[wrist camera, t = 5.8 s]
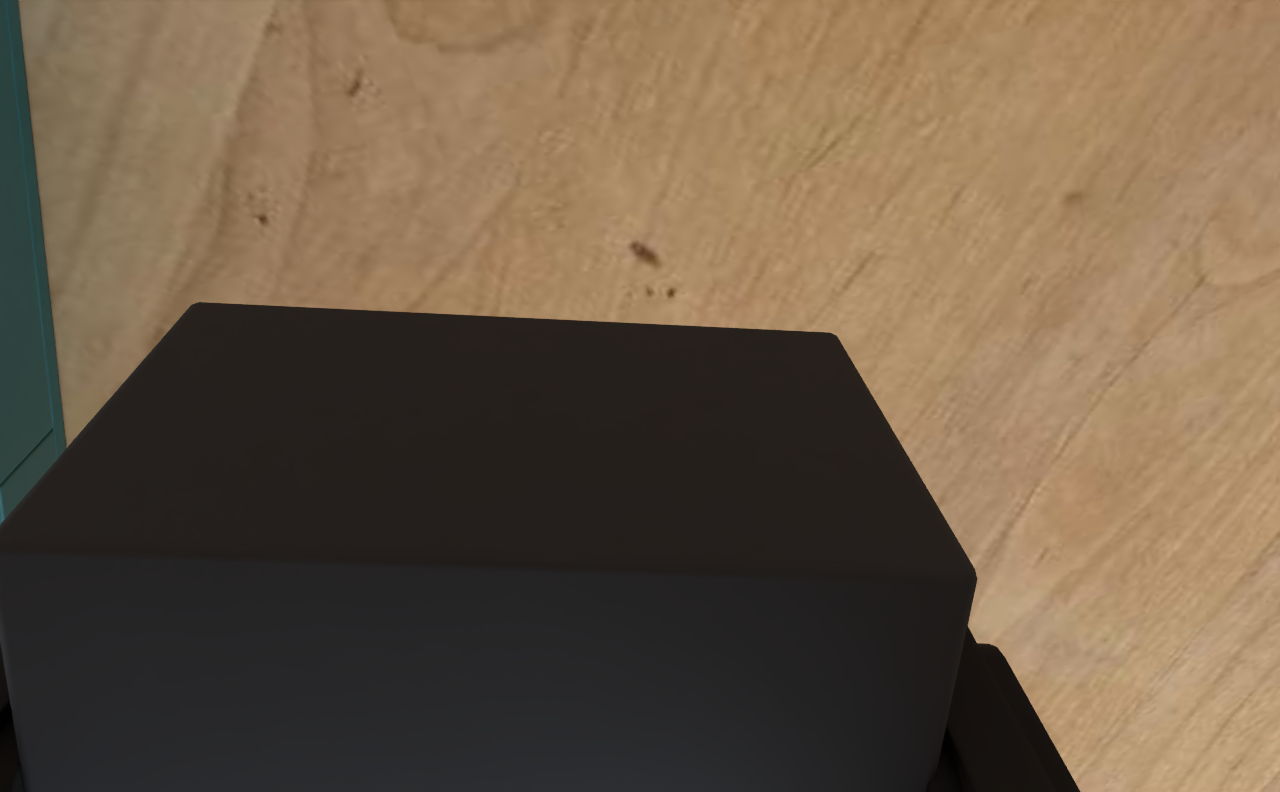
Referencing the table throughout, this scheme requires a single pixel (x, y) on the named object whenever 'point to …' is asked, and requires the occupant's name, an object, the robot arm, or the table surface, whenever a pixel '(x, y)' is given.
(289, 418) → the dark grey block
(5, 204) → the holder
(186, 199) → the table surface
